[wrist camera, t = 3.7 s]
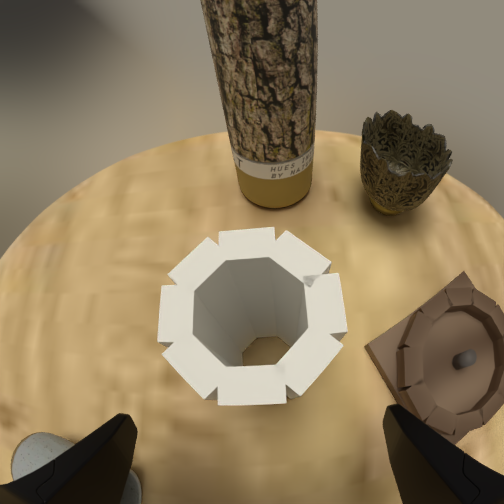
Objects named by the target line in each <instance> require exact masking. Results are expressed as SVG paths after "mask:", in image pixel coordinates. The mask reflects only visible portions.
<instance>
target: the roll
mask: <svg viewBox="0 0 504 504" xmlns="http://www.w3.org/2000/svg"><path fill="white" fill-rule="evenodd" d="M331 263H332V262H331V261H329V260H328V259H327V258H325V257H324V256H322V255H321V254H320V253H318V252H317V251H315V250H314V249H313V248H311V247H310V246H308V245H307V244H305V243H304V242H303V241H301V240H300V239H298V238H297V237H295V236H294V235H293V234H291V233H290V232H288V231H287V230H286V231H285V232H284V233H283V234H282V235H281V236H280V237H279V238H278V239H277V240H276V241H275V231H274V227H266V228H254V229H243V230H231V231H220V232H219V245H217V244H216V243H215V242H214V241H212V240H211V239H210V238H209V237H207V238H206V239H205V240H204V241H203V242H201V243H200V244H199V245H198V246H197V247H196V248H195V249H194V250H193V251H192V252H191V253H190V254H189V255H188V256H186V257H185V258H184V259H183V260H182V261H181V262H180V263H179V264H178V265H177V266H176V267H175V268H174V269H173V270H172V271H171V272H170V273H169V274H167V275H168V276H169V277H170V278H171V279H172V281H173V282H174V283H175V284H176V285H163V286H162V289H161V300H160V312H159V325H158V341H157V342H159V343H160V344H162V345H164V346H166V347H168V349H167V350H166V351H165V352H164V353H163V354H162V355H163V356H164V357H165V359H166V360H167V361H168V362H169V363H170V364H171V365H172V366H173V367H174V368H175V370H176V371H177V372H178V373H179V374H180V375H181V376H182V377H183V378H184V379H185V380H186V381H187V382H188V383H189V384H190V386H191V387H192V388H193V389H194V390H195V391H196V392H197V393H198V394H199V395H200V396H201V397H202V398H203V399H205V400H218V405H264V404H282V403H287V402H286V396H288V397H289V398H290V399H293V398H296V397H300V396H301V395H302V394H303V393H304V392H305V391H306V390H307V389H308V387H309V386H310V385H311V384H312V383H313V382H314V381H315V379H316V378H317V377H318V376H319V375H320V374H321V372H322V371H323V370H324V369H325V368H326V367H327V365H328V364H329V363H330V362H331V360H332V359H333V358H334V357H335V356H336V354H337V353H338V352H339V351H340V349H341V348H342V347H343V346H344V345H343V344H341V343H340V342H339V341H340V340H341V339H342V338H343V337H344V335H345V334H346V333H347V332H348V331H347V323H346V316H345V309H344V302H343V296H342V290H341V284H340V278H339V273H332V274H328V273H329V270H330V266H331ZM275 336H278V337H279V338H280V339H281V340H283V341H284V342H285V343H286V344H287V345H289V346H290V347H291V348H290V349H289V351H288V352H287V353H286V354H285V355H284V356H283V357H282V358H281V359H280V360H279V362H278V363H277V364H276V365H261V366H243V358H242V353H243V352H244V350H245V349H246V348H247V347H248V346H249V345H250V344H251V343H252V342H253V341H254V340H255V339H256V338H260V337H275Z"/></svg>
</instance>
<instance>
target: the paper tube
mask: <svg viewBox="0 0 504 504" xmlns="http://www.w3.org/2000/svg"><path fill="white" fill-rule="evenodd" d="M201 5H202V9H203V15H204V19H205V24H206V29H207V33H208V38H209V43H210V48H211V53H212V58H213V63H214V67H215V72H216V77H217V81H218V86H219V91H220V96H221V101H222V105H223V110H224V115H225V120H226V125H227V129H228V134H229V139H230V144H231V149H232V154H233V158H234V162H235V167H236V171H237V176H238V181H239V186H240V189H241V191H242V193H243V194H244V195H245V196H246V198H248V199H249V200H250V201H252V202H254V203H255V204H258V205H260V206H263V207H268V208H281V207H286V206H289V205H292V204H294V203H296V202H298V201H299V200H300V199H302V198H303V197H304V196H305V195H306V194H307V192H308V191H309V189H310V186H311V181H312V168H313V155H314V141H315V122H316V95H317V50H318V44H317V43H318V39H317V37H318V36H317V35H318V31H317V30H318V27H317V0H201Z"/></svg>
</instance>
